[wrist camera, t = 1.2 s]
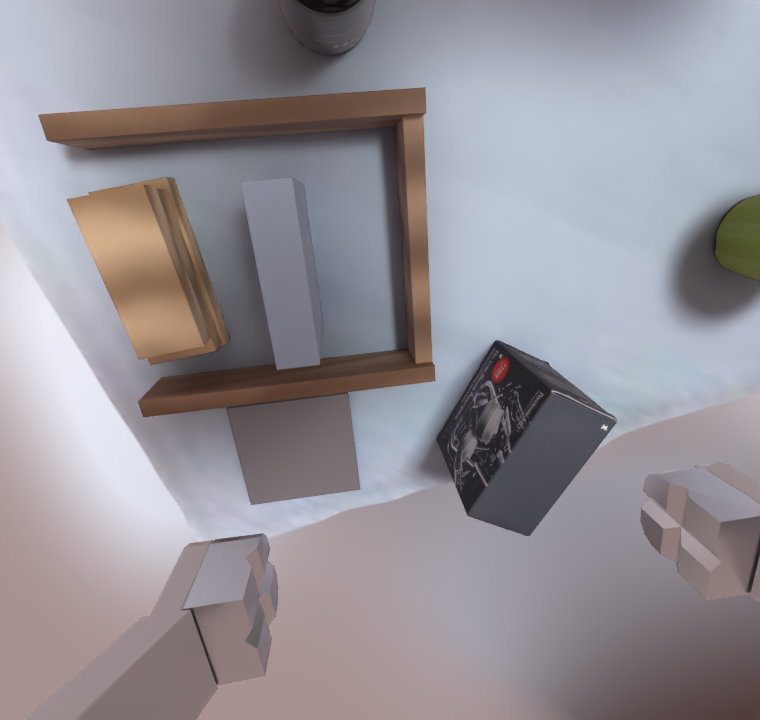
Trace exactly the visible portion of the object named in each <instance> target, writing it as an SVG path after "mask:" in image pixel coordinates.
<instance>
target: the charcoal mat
mask: <svg viewBox="0 0 760 720" xmlns="http://www.w3.org/2000/svg"><path fill="white" fill-rule="evenodd" d="M227 412H228V416H229V420H230V424H231V428H232V432H233V436H234V440H235V443H236V447H237V451H238V455H239V459H240V463H241V467H242V471H243V475H244V478H245V482H246V486H247V490H248V494H249V498H250V502H251V505H254V504H261V503H268V502H275V501H282V500H289V499H297V498H304V497H311V496H318V495H325V494H332V493H339V492H346V491H353V490H360V484H359V476H358V468H357V460H356V452H355V444H354V436H353V428H352V420H351V412H350V404H349V396H348V392H343V393H335V394H327V395H319V396H311V397H303V398H295V399H287V400H279V401H270V402H262V403H254V404H246V405H238V406H230V407H227Z"/></svg>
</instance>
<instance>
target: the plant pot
mask: <svg viewBox="0 0 760 720" xmlns="http://www.w3.org/2000/svg"><path fill="white" fill-rule="evenodd" d="M716 240H717V243H716V249H715V255H716V258H717V260H718V262H719V263H720V264H721V265H722V266H723V267H724V268H726V269H728V270H731V271H733V272H736V273H738V274H741V275H743V276H746V277H749V278H751V279H754V280H756V281H759V282H760V195H756V196H753V197H750V198H747V199H745V200H743V201H742V202H740V203H739V204H737V205H736V206H735V207H734V208H733V209H732V210H731V211H730V212H729V213H728V214H727V215H726V216H725V218H724V219H723V221H722V222H721V224H720V226H719V228H718V231H717V234H716Z"/></svg>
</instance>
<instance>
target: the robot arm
mask: <svg viewBox="0 0 760 720" xmlns="http://www.w3.org/2000/svg"><path fill="white" fill-rule="evenodd" d="M643 490H644V492H645V493H646V494H647V496H648V497H649V499H648V500H647V501H646V503H645V504H644V505H643V506H642V508H641V524H642V527H643V530H644V533H645V536H646V537H647V539H648V540H649V542H650V543H651V545H652V546H653V547H654V548H655V549H656V550H657V551H658V552H659V553H660V554H661V555H663V556H666V557H668V558H670V559H672V560H674V561H676V565H677V572H678V573H679V574H680V575H681V576H682V577H683V578H684V579H685V580H686V581H687V582H688V583H689V584H690V585H691V586H692V587H693V588H694V589H695V590H696V591H697V592H698V593H699V594H700V595H701V596H702V597H703V598H704V599H705V600H712V599H719V598H726V597H733V596H740V595H748V594H750V597H751V598H753V599H755V600H756V601H758V602H760V484H759V483H757V482H756V481H754V480H753V479H751V478H749V477H748V476H746V475H744V474H743V473H741V472H739V471H738V470H736V469H734V468H732V467H731V466H730V465H727V464H724V463H720V462H715V463H709V464H704V465H698V466H694V467H690V468H683V469H677V470H672V471H665V472H659V473H652V474H649V475H648V476H647V478H646V479H645V482H644V489H643ZM269 551H270V547H269V543H268V540H267V536H266V535H264V534H263V533H262V534H254V535H246V536H239V537H231V538H223V539H216V540H211V541H204V542H196V543H190V544H189V545H187V546H186V547H185V548H184V549H183V551H182V553H181V555H180V557H179V559H178V561H177V563H176V565H175V567H174V569H173V571H172V573H171V575H170V577H169V579H168V581H167V583H166V585H165V587H164V589H163V591H162V593H161V595H160V597H159V599H158V601H157V603H156V605H155V607H154V609H153V611H152V613H151V615H150V616H146V617H141V618H140V619H139V620H138V621H137V622H136V623H134V624H133V625H132V626H131V627H130V628H129V629H128V630H126V631H125V632H124V633H123V634H122V635H121V636H119V637H118V638H117V639H116V640H115V641H114V642H113V643H111V644H110V645H109V646H108V647H107V648H106V649H104V650H103V651H102V652H101V653H100V654H99V655H98V656H96V657H95V658H94V659H93V660H92V661H91V662H90V663H88V664H87V665H86V666H85V667H84V668H83V669H81V670H80V671H79V672H78V673H77V674H76V675H74V676H73V677H72V678H71V679H70V680H69V681H68V682H66V683H65V684H64V685H63V686H62V687H61V688H60V689H58V690H57V691H56V692H55V693H54V694H53V695H51V696H50V697H49V698H48V699H47V700H46V701H45V702H43V703H42V704H41V705H40V706H39V707H38V708H36V709H35V710H34V711H33V712H32V713H31V714H30V715H28V716H27V717H26V718H25V719H24V720H196V719H197V718H198V716H199V715H200V713H201V712H202V710H203V709H204V708H205V706H206V704H207V703H208V702H209V700H210V699H211V697H212V696H213V695H214V693H215V692H216V690H217V689H218V688H217V685H221V684H226V683H231V682H236V681H241V680H246V679H251V678H256V677H261V676H265V673H266V668H267V663H268V657H269V651H270V646H271V640H272V639H271V635H270V631H269V627H268V626H269V624H270V623H271V622H272V621H273V620H274V618H275V617H276V611H277V604H278V583H277V575H276V571H275V567H274V565H272V564H271V563H270V562H269V561H268V556H269Z"/></svg>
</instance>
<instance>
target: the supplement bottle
mask: <svg viewBox="0 0 760 720" xmlns="http://www.w3.org/2000/svg"><path fill="white" fill-rule="evenodd" d="M278 1H279V4H280V7H281V10H282V14H283V16H284V19H285V21H286V23H287V25H288V27H289V28H290V30H291V32H292V33H293V34H294V36H295V37H296V38H297V39H298V40H299V41H300V42H301V43H302V44H303V45H304V46H306V47H307V48H309V49H311V50H312V51H315V52H317V53H321V54H326V55H334V54H340V53H343V52H345V51H347V50H349V49H351V48H352V47H353V46H355V45H356V44H357V43H358V42H359V41H360V39H361V38H362V37H363V35H364V33H365V32H366V30H367V28H368V25H369V23H370V20H371V16H372V13H373V8H374V4H375V0H278Z"/></svg>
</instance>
